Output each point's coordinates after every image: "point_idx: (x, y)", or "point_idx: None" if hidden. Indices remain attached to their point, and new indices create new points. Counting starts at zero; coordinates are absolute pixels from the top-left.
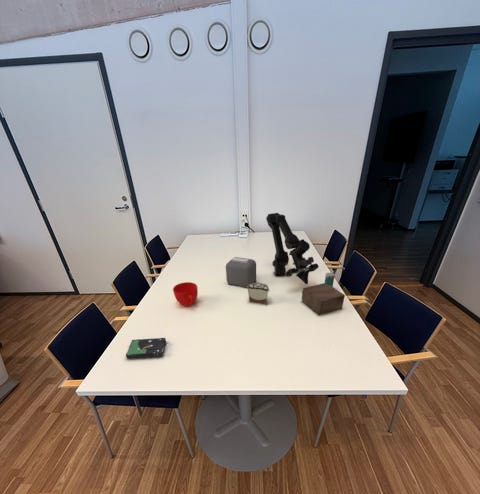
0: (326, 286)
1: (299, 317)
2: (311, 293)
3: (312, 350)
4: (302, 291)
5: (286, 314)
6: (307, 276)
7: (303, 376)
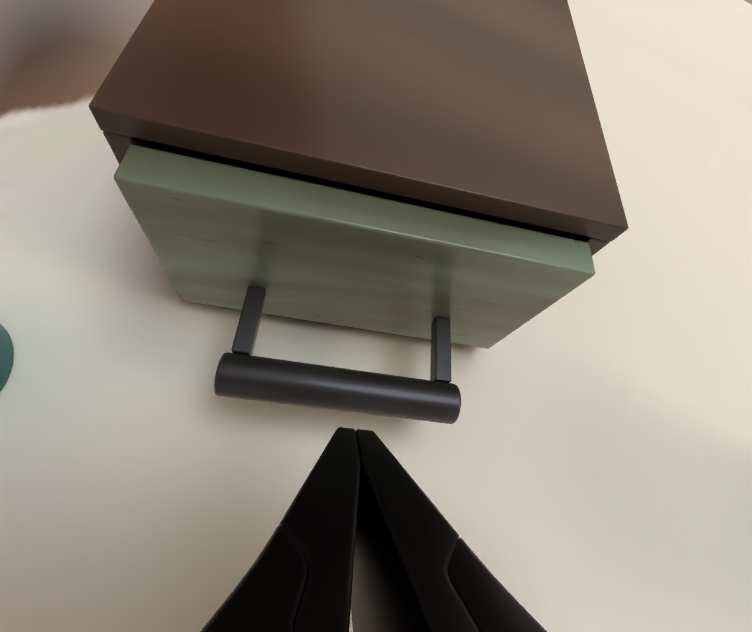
0: (230, 38)
1: None
2: (578, 79)
3: (644, 27)
4: (557, 299)
5: (687, 262)
6: (296, 560)
7: (709, 2)
